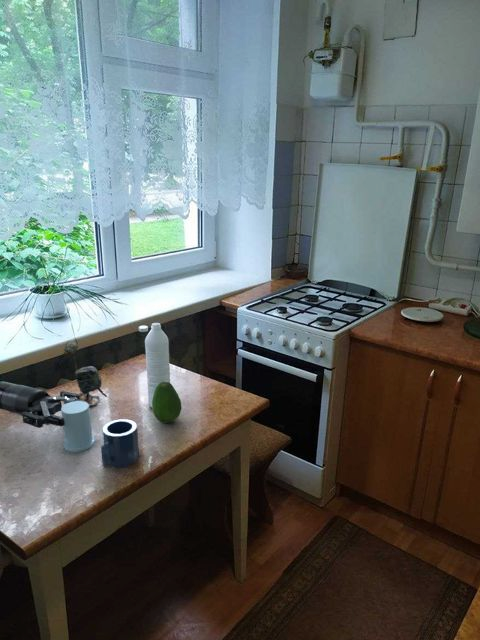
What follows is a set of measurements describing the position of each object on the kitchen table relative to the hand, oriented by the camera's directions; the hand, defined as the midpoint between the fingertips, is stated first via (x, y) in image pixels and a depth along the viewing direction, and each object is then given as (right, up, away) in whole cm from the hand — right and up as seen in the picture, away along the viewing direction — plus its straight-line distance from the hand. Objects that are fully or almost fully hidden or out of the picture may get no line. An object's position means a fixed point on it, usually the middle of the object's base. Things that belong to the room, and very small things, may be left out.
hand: (75, 414), depth 122 cm
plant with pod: (-5, 0, +23) cm, 24 cm away
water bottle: (+15, 0, +23) cm, 28 cm away
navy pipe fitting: (+12, -11, -3) cm, 16 cm away
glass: (0, -8, +3) cm, 8 cm away
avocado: (+20, -4, +15) cm, 25 cm away
